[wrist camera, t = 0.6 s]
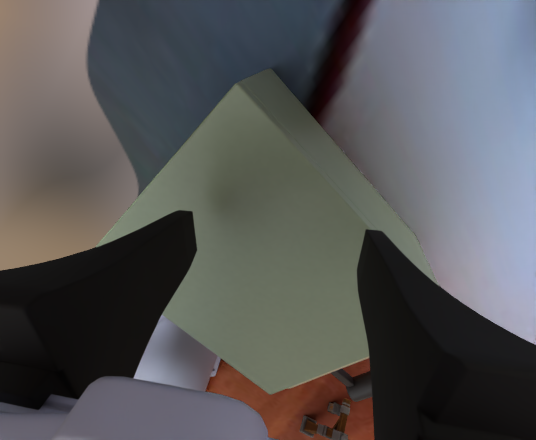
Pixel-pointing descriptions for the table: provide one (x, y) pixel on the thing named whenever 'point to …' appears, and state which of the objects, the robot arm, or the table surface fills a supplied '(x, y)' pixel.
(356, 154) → the table surface
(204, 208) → the cabinet
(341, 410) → the wooden post with brackets
